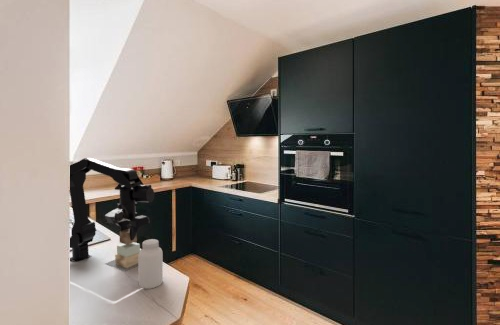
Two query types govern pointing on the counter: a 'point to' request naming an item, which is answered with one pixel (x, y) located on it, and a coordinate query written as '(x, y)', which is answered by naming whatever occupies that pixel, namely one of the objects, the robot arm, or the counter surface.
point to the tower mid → (128, 249)
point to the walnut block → (126, 237)
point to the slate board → (112, 263)
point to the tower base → (126, 260)
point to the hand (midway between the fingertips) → (128, 239)
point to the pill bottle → (150, 264)
